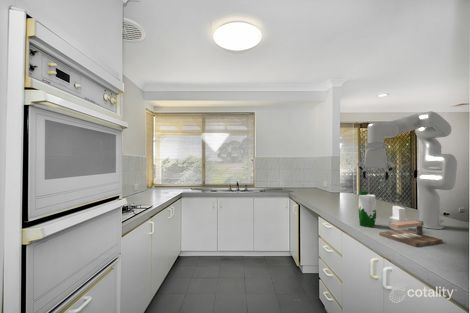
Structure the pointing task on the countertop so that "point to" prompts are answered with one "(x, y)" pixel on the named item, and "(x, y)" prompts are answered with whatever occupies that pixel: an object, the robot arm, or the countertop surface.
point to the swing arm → (406, 224)
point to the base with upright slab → (398, 217)
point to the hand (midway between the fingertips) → (375, 179)
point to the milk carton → (367, 209)
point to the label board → (411, 237)
